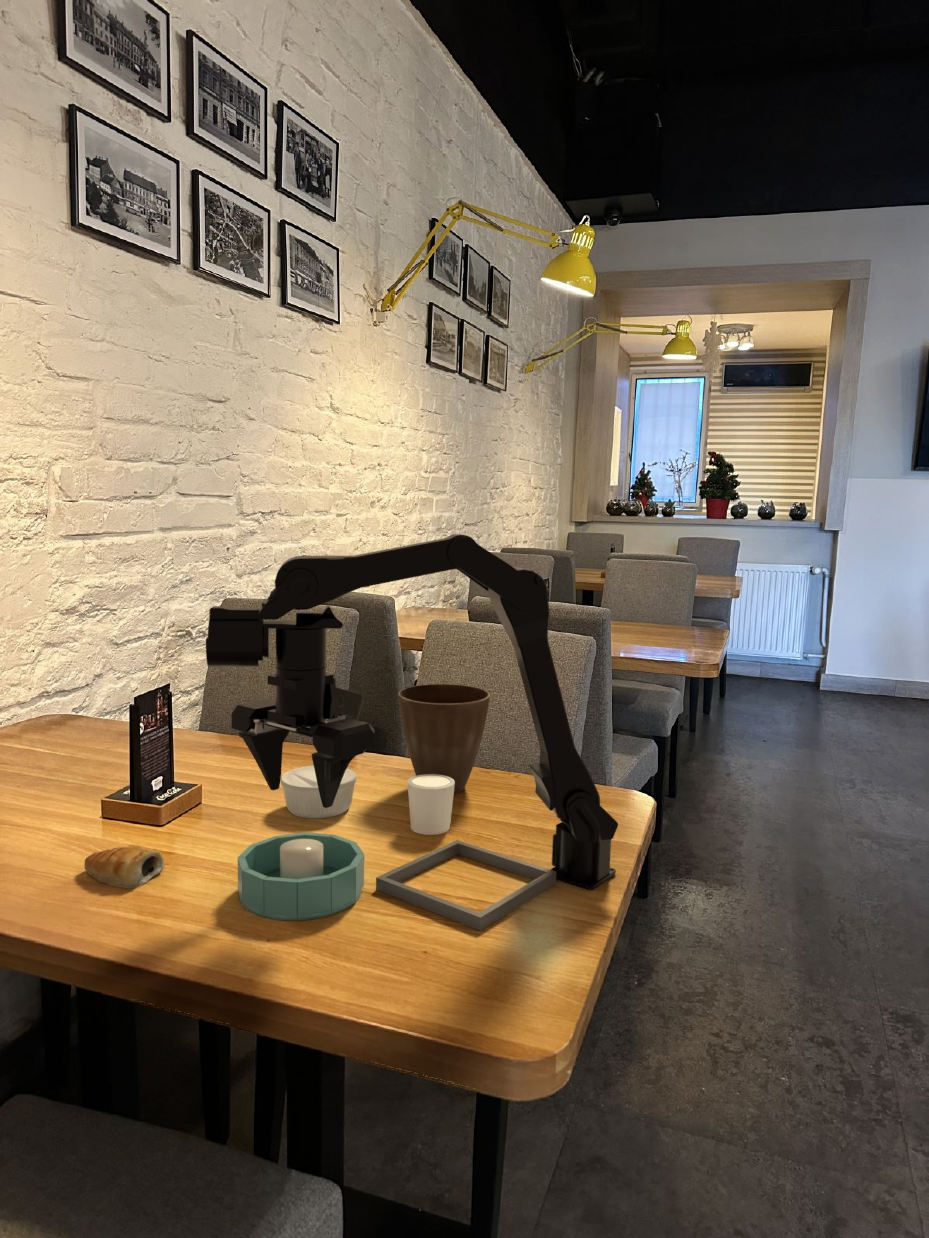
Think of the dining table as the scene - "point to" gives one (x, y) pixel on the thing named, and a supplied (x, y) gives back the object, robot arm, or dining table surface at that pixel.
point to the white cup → (430, 803)
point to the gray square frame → (456, 912)
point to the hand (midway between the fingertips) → (300, 797)
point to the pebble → (301, 859)
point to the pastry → (125, 866)
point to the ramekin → (315, 793)
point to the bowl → (305, 895)
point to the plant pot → (444, 728)
